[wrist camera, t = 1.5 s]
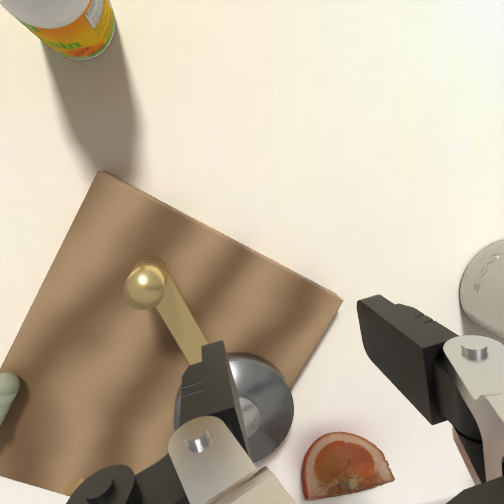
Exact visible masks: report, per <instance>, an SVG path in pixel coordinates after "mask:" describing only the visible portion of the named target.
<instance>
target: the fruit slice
mask: <svg viewBox="0 0 504 504" xmlns="http://www.w3.org/2000/svg"><path fill="white" fill-rule="evenodd" d="M388 466H389V464H388V461H386V460H385V457H384V454H383V452H382V451H381V450H380V449H378V448H377V447H376V446H375V445H374V444H373V443H371V442H369V441H368V440H366V439H364V438H362V437H360V436H358V435H355V434H351V433H345V432H333V433H328V434H325V435H323V436H321V437H320V438H318V439H317V440H316V441H315V442H314V443H313V444H312V445H311V446H310V448H309V449H308V451H307V453H306V455H305V457H304V461H303V466H302V473H301V474H302V487H303V494H304V497H305V500H317V499H323V498H328V497H336V496H341V495H346V494H351V493H357V492H360V491H364V490H369V489H372V488H374V487H377V486H381V485H383V484H386V483H389V482H393V481H394V480H395V478H394V476H393V474H392V472H391V469H390V468H389V467H388Z"/></svg>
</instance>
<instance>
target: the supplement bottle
mask: <svg viewBox="0 0 504 504" xmlns="http://www.w3.org/2000/svg"><path fill="white" fill-rule="evenodd" d="M0 4H1V5H2V6H3V7H4V8H5V9H6V10H7V11H8V12H9V13H10V14H11V15H13V16H14V17H15V18H16V19H17V20H19V21H20V22H21V23H22V24H23V25H24V26H26V27H27V28H28V29H29V30H30V31H31V32H32V33H34V34H35V35H36V36H37V37H38V38H39V39H40V40H42V41H43V42H44V43H45V44H46V45H47V46H48V47H49V48H51V49H52V50H53V51H55V52H56V53H58V54H60V55H62V56H64V57H66V58H70V59H74V60H87V59H91V58H94V57H96V56H98V55H100V54H101V53H102V52H104V51H105V49H106V48H107V47H108V46H109V44H110V42H111V40H112V38H113V35H114V30H115V18H114V12H113V9H112V6H111V3H110V1H109V0H0Z"/></svg>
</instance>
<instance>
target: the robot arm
mask: <svg viewBox="0 0 504 504" xmlns="http://www.w3.org/2000/svg"><path fill="white" fill-rule="evenodd" d="M460 301H461V305H462V308H463V310H464V312H465V314H466V315H467V317H468V318H469V319H470V320H471V321H472V322H473V323H475V324H477V325H479V326H481V327H482V328H484V329H486V330H488V331H490V332H491V333H493V334H495V335H497V336H499V337H500V338H502V339H504V240H500V241H497V242H495V243H492V244H490V245H489V246H487V247H485V248H484V249H482V250H481V251H480V252H479V253H478V254H477V255H476V256H475V257H474V258H473V260H472V261H471V262H470V263H469V265H468V267H467V269H466V271H465V272H464V275H463V278H462V281H461V287H460ZM357 312H358V318H359V324H360V330H361V335H362V341H363V345H364V348H365V351H366V353H367V355H368V357H369V358H370V360H371V361H372V362H373V363H374V364H375V365H376V366H377V367H378V368H379V369H380V370H381V371H382V373H383V374H384V375H385V376H386V377H387V378H388V379H389V380H390V381H391V382H392V383H393V384H394V385H395V386H396V387H397V388H398V390H399V391H400V392H401V393H402V394H403V395H404V396H405V397H406V398H407V399H408V400H409V401H410V402H411V403H412V404H413V405H414V407H415V408H416V409H417V410H418V411H419V412H420V413H421V414H422V415H423V416H424V417H425V418H426V419H427V420H428V421H429V422H430V424H431V425H435V424H438V423H441V422H444V421H447V420H448V421H449V422H450V423H451V424H452V432H453V438H454V441H455V443H456V445H457V447H458V449H459V452H460V454H461V456H462V458H463V460H464V462H465V464H466V466H467V468H468V471H469V473H470V475H471V477H472V479H473V481H474V483H475V485H476V486H473V487H470V488H468V489H465V490H463V491H462V492H460V493H459V494H458V495H457V496H455V497H454V498H453V499H451V500H450V501H449V502H448V503H446V504H504V345H503V344H502V343H500V342H499V341H496V340H494V339H492V338H488V337H484V336H478V335H463V336H459V335H457V334H455V333H454V332H452V331H450V330H449V329H447V328H446V327H444V326H442V325H441V324H439V323H438V322H436V321H433V319H431V318H430V317H428V316H425V315H424V314H423V313H421V312H420V311H418V310H417V309H415V308H413V307H410V306H406V305H402V304H396V305H395V304H393V303H392V302H390V301H389V300H387V299H386V298H384V297H383V296H381V295H375V296H372V297H368V298H365V299H362V300H358V301H357ZM201 352H202V362H199V363H196V364H192V365H189V366H188V368H187V369H186V371H185V372H184V374H183V376H182V385H181V387H182V389H181V406H180V427H179V428H178V429H177V430H176V431H175V433H174V434H173V435H172V437H171V438H170V441H169V444H168V453H167V454H166V455H165V456H164V457H163V458H162V459H161V460H159V461H158V462H156V463H155V464H153V465H151V466H150V467H148V468H146V469H145V470H143V471H141V472H140V473H138V474H136V475H135V474H134V472H133V470H132V469H131V468H130V467H129V466H126V465H122V464H118V465H111V466H108V467H105V468H103V469H101V470H99V471H97V472H95V473H94V474H92V475H91V476H89V477H88V478H87V479H85V480H84V481H83V482H82V483H81V484H80V485H79V486H78V487H77V488H76V490H75V491H74V492H73V494H72V495H71V497H70V498H69V500H68V502H67V503H66V504H296V503H295V502H294V500H293V499H292V498H291V496H290V495H289V494H288V492H287V491H286V490H285V489H284V487H283V486H282V485H281V483H280V482H279V481H278V479H277V478H276V477H275V476H274V474H273V473H272V472H271V471H270V470H269V469H268V468H267V467H263V468H262V469H260V470H258V469H257V467H256V466H255V464H254V463H253V462H252V459H251V454H250V449H249V444H248V439H247V435H246V430H245V425H244V420H243V415H242V410H241V406H240V401H239V396H238V392H237V388H236V384H235V381H234V377H233V374H232V370H231V366H230V363H229V359H228V356H227V352H226V349H225V345H224V342H223V340H220V341H217V342H213V343H210V344H207V345H203V346H201Z"/></svg>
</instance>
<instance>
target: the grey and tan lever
mask: <svg viewBox="0 0 504 504" xmlns="http://www.w3.org/2000/svg"><path fill="white" fill-rule="evenodd" d="M123 296H124V299H125V300H126V302H127V303H128V304H129V305H130V306H131V307H133V308H135V309H138V310H149V309H152V308H154V307H156V308H157V310H158V311H159V313H160V315H161V317H162V318H163V320H164V322H165V323H166V325H167V327H168V328H169V330H170V332H171V333H172V335H173V337H174V338H175V340H176V342H177V343H178V345H179V347H180V348H181V350H182V352H183V353H184V355H185V357H186V358H187V360H188V362H189V364H190V365H192V364H196V363H199V362H202V352H201V346H203V345H207V344H210V343H211V342H210V341H209V339H208V337H207V335H206V334H205V332H204V330H203V328H202V327H201V325H200V323H199V321H198V320H197V318H196V316H195V314H194V312H193V311H192V309H191V307H190V305H189V304H188V302H187V300H186V298H185V297H184V295H183V293H182V291H181V289H180V288H179V286H178V284H177V282H176V281H175V279H174V277H173V275H172V274H171V272H170V270H169V268H168V266H167V265H166V263H165V261H164V260H162V259H160V258H158V257H155V256H147V257H144V258H142V259H140V260H139V261H138V262H137V264H136V265H135V267H134V269H133V270H132V272H131V274H130V275H129V277H128V279H127V281H126V282H125V284H124V287H123ZM227 356H228V359H229V363H230V366H231V370H232V374H233V377H234V381H235V384H236V388H237V392H238V396H239V401H240V406H241V410H242V415H243V420H244V425H245V430H246V435H247V439H248V444H249V449H250V454H251V459H252V462H253V463H254V462H257V461H259V460H261V459H262V458H264V457H266V456H267V455H269V454H270V453H271V452H273V451H274V450H275V449H276V448H277V447H278V446H279V445H280V443H281V442H282V441H283V440H284V438H285V437H286V435H287V433H288V431H289V429H290V427H291V424H292V420H293V415H294V404H293V398H292V394H291V392H290V389H289V387H288V385H287V383H286V380H285V378H284V377H283V375H282V373H281V372H280V371H279V370H278V368H277V367H276V366H274V365H273V364H272V363H271V362H269V361H268V360H266V359H264V358H262V357H260V356H257V355H254V354H250V353H244V352H232V353H227ZM181 385H182V384H181ZM181 385H180V387H179V389H178V392H177V395H176V399H175V405H174V418H173V419H174V430H175V431H176V430H177V429H178V428H179V427H180V406H181V389H182V387H181Z"/></svg>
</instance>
